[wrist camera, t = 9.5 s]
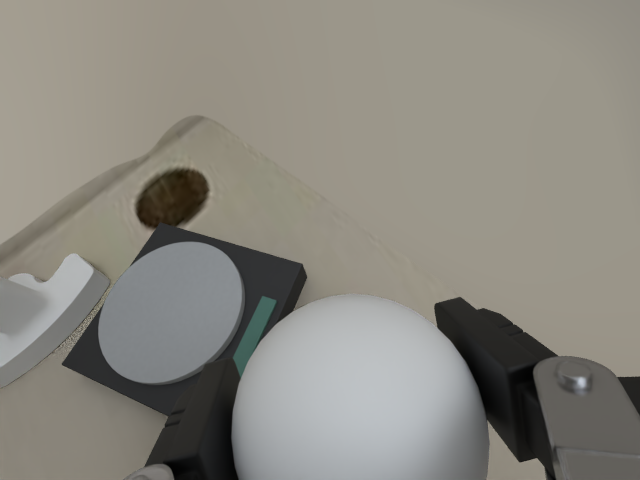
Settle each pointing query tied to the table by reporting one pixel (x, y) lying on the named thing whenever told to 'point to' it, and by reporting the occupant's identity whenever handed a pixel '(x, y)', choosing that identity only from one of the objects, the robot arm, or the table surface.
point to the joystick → (44, 313)
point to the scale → (184, 315)
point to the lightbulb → (358, 399)
